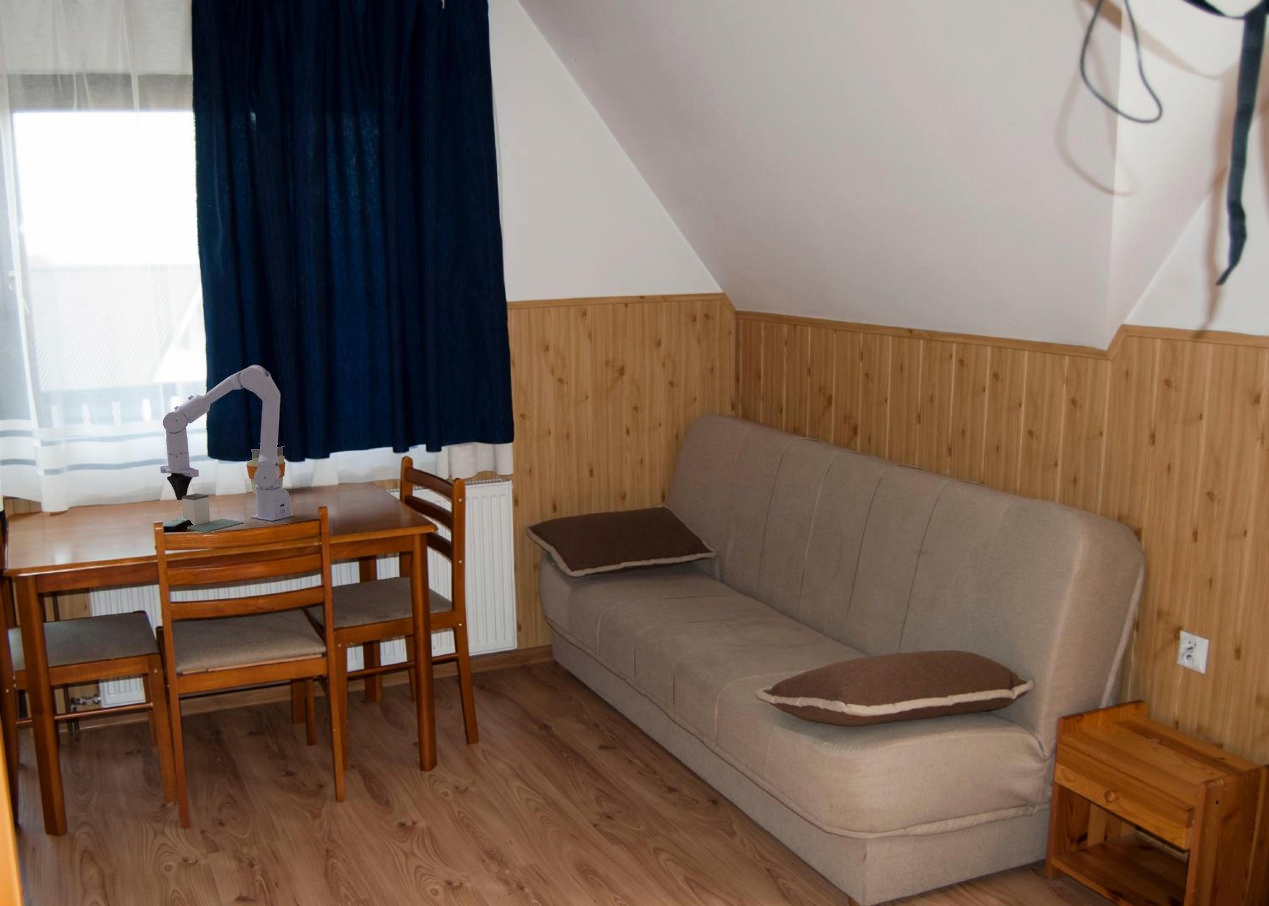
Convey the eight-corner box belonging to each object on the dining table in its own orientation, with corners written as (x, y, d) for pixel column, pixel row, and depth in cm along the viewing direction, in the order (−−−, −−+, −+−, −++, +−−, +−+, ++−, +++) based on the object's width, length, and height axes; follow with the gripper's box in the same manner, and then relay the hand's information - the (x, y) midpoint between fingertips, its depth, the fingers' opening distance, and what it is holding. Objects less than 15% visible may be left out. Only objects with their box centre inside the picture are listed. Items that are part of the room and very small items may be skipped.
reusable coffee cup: (296, 490, 377) (293, 444, 375) (266, 497, 366) (263, 450, 364) (269, 486, 383) (266, 441, 381) (238, 493, 373) (235, 447, 370)
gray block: (210, 522, 332) (208, 495, 331) (195, 525, 328) (193, 498, 326) (198, 520, 335) (196, 493, 333) (184, 523, 330) (181, 496, 329)
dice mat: (243, 523, 330) (243, 522, 330) (205, 532, 320) (205, 531, 319) (222, 519, 335) (222, 518, 335) (184, 528, 324) (184, 527, 324)
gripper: (149, 453, 332) (153, 499, 334) (182, 457, 324) (186, 504, 326) (170, 449, 338) (174, 495, 340) (203, 453, 330) (207, 500, 332)
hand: (181, 499), depth 333 cm, fingers closed
